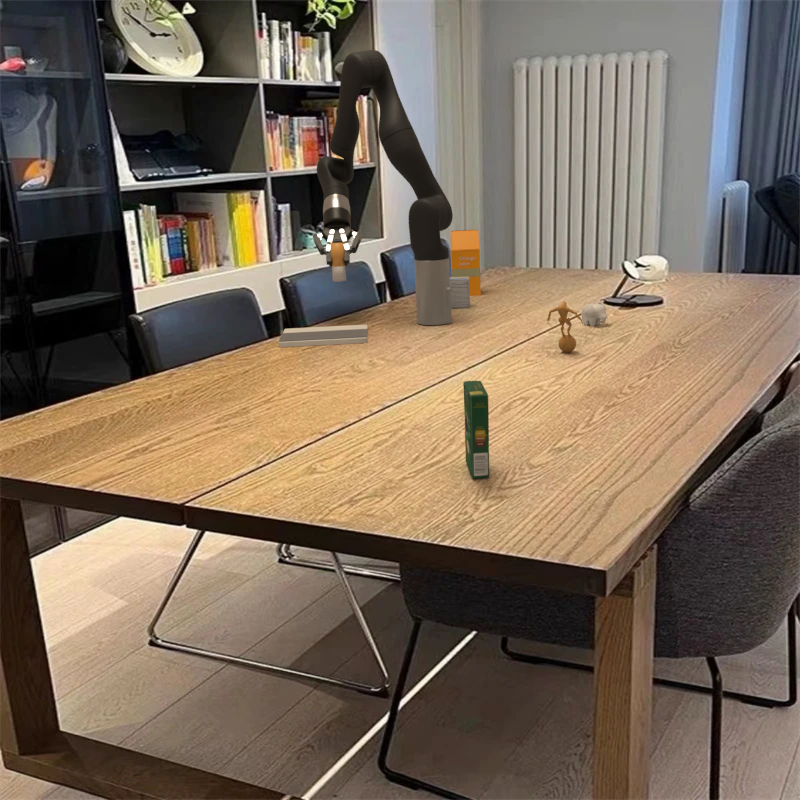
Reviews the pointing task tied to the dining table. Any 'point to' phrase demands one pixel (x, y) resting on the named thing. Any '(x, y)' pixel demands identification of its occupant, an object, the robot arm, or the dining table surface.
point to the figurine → (566, 341)
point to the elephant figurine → (594, 314)
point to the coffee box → (476, 429)
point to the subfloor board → (324, 335)
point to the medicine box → (460, 292)
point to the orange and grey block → (338, 262)
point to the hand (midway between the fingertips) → (338, 264)
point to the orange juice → (466, 258)
